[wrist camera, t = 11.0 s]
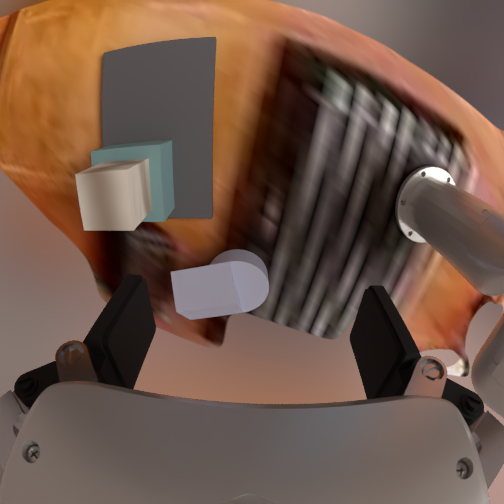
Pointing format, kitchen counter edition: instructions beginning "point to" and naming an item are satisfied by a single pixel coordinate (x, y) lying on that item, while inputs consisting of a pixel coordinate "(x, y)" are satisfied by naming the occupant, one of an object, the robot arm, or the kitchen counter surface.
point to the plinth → (158, 171)
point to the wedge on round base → (221, 286)
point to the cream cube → (114, 194)
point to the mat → (166, 111)
